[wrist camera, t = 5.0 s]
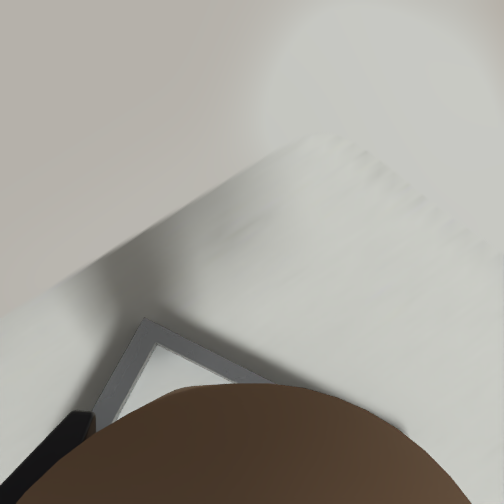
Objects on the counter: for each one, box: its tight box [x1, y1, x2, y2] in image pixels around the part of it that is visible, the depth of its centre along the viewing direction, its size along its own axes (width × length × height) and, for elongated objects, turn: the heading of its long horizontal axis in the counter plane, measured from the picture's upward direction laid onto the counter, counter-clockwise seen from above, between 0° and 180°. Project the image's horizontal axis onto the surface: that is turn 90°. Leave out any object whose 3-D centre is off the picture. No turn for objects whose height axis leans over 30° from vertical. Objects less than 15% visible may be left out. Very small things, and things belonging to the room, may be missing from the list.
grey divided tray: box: [92, 318, 275, 432], centre depth 20 cm, size 8×15×2 cm, turn 64°
